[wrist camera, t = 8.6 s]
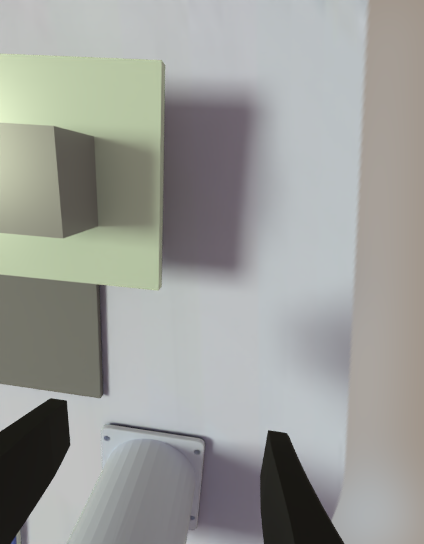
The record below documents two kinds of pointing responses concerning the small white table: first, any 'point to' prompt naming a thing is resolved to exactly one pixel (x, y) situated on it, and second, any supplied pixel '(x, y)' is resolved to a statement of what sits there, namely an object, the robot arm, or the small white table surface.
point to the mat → (50, 335)
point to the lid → (82, 169)
